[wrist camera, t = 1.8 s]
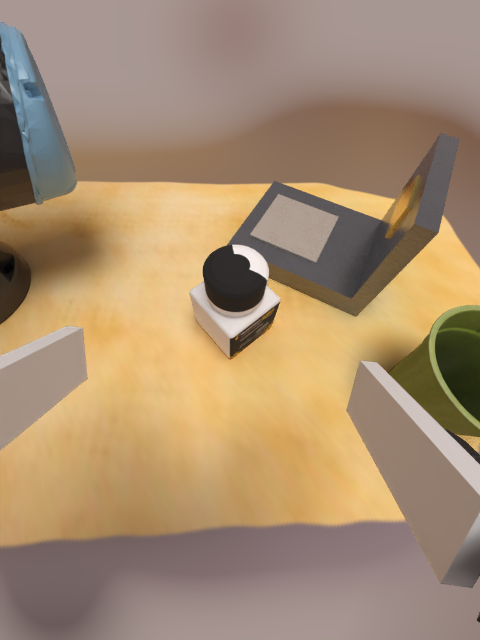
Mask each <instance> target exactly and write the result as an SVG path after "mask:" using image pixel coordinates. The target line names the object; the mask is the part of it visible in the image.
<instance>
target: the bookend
mask: <svg viewBox="0 0 480 640" xmlns="http://www.w3.org/2000/svg"><path fill="white" fill-rule="evenodd" d="M458 143H459V139H458V138H455V137H452V136H448V135H445V134H441V133H440V135H439V136H438V138H437V140H436V141H435V142H434V144H433V145H432V147H431V148H430V150H429V151H428V153H427V154H426V156H425V157H424V158H423V160H422V161H421V163H420V164H419V166H418V167H417V169H416V170H415V172H414V173H413V175H412V176H411V178H410V179H409V181H408V182H407V184H406V185H405V187H404V188H403V190H402V191H401V193H400V194H399V195H398V197H397V198H396V200H395V201H394V203H393V204H392V206H391V207H390V209H389V210H388V212H387V213H386V215H385V216H384V218H383V219H382V221H381V220H379V219H376V218H373V217H371V216H368V215H365V214H362V213H360V212H357V211H354V210H352V209H349V208H346V207H344V206H341V205H338V204H335V203H333V202H330V201H327V200H325V199H322V198H319V197H316V196H314V195H311V194H308V193H306V192H303V191H300V190H298V189H295V188H292V187H289V186H287V185H284V184H281V183H279V182H276V181H274V182H273V184H272V185H271V186H270V188H269V189H268V191H267V192H266V193H265V195H264V196H263V197H262V199H261V200H260V201H259V203H258V204H257V205H256V207H255V208H254V209H253V211H252V212H251V213H250V215H249V216H248V217H247V219H246V220H245V221H244V223H243V224H242V225H241V227H240V228H239V230H238V231H237V232H236V234H235V235H234V236H233V238H232V239H231V240H230V242H229V243H228V244H227V245H243V246H247V247H250V248H252V249H254V250H255V251H257V252H258V253H259V254H261V255H262V256H263V258H264V259H265V261H266V262H267V265H268V268H269V278H271V279H273V280H276V281H278V282H280V283H282V284H285V285H287V286H289V287H291V288H294V289H296V290H298V291H300V292H303V293H305V294H307V295H309V296H311V297H314V298H316V299H318V300H320V301H323V302H325V303H327V304H329V305H332V306H334V307H336V308H338V309H340V310H343V311H345V312H347V313H349V314H352V315H354V316H357V315H358V314H359V313H360V312H361V311H362V310H363V309H364V308H365V307H366V306H367V305H368V304H369V303H370V302H371V301H372V300H373V299H374V298H375V297H376V296H377V295H378V294H379V293H380V292H381V291H382V290H383V289H384V288H385V287H386V286H387V285H388V284H389V283H390V282H391V281H392V280H393V279H394V278H395V276H396V275H397V274H398V273H399V272H400V271H401V270H402V269H403V268H404V267H405V266H406V265H407V264H408V263H409V262H410V261H411V260H412V259H413V258H414V257H415V256H416V255H417V254H418V253H419V252H420V251H421V250H422V249H423V248H424V247H425V246H426V245H427V244H428V243H429V242H430V241H431V240H432V239H433V238H434V237H435V236H436V235H437V234H438V232H439V228H440V224H441V219H442V215H443V210H444V206H445V201H446V196H447V192H448V188H449V183H450V179H451V174H452V170H453V165H454V161H455V156H456V152H457V147H458Z"/></svg>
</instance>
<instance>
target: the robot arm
mask: <svg viewBox="0 0 480 640" xmlns="http://www.w3.org/2000/svg"><path fill="white" fill-rule="evenodd" d="M76 184H77V174H76V170H75V166H74V163H73V160H72V157H71V154H70V151H69V148H68V146H67V142H66V140H65V137H64V134H63V131H62V129H61V126H60V124H59V121H58V118H57V115H56V113H55V110H54V108H53V105H52V102H51V100H50V97H49V95H48V92H47V90H46V87H45V84H44V82H43V79H42V77H41V74H40V72H39V70H38V67H37V65H36V62H35V60H34V58H33V55H32V54H31V52H30V50H29V48H28V45H27V42H26V40H25V38H24V36H23V34H22V33H21V32H20V31H19V30H18V29H17V28H15V27H12V26H8V25H6V24H5V23H3V22H1V23H0V211H3V210H7V209H11V208H15V207H20V206H24V205H28V204H32V203H36V204H37V205H40V204H42V203H43V201H45V200H49V199H52V198H56V197H59V196H63V195H66V194H69V193H70V192H72V191H73V190H74V189H75V187H76ZM29 284H30V270H29V267H28V265H27V263H26V261H25V260H24V259H23V258H22V257H21V256H20V255H19V254H18V253H16V252H15V251H14V250H13V249H12V248H11V247H9V246H8V245H7V244H5V243H3V242H1V241H0V323H1V322H2V321H4V320H5V319H6V318H7V317H8V316H9V315H10V314H12V313H13V311H14V310H15V309H16V308H17V307H18V306H19V304H20V303H21V302H22V300H23V299H24V297H25V295H26V293H27V291H28V288H29ZM86 379H87V368H86V357H85V346H84V336H83V328H81V327H72V326H66V327H63V328H61V329H59V330H57V331H55V332H52V333H50V334H48V335H46V336H44V337H41V338H39V339H37V340H35V341H33V342H30V343H28V344H26V345H24V346H21V347H19V348H17V349H15V350H13V351H10V352H8V353H6V354H4V355H2V356H0V450H2V449H3V448H4V447H5V446H6V445H8V444H9V443H10V442H11V441H12V440H14V439H15V438H16V437H17V436H18V435H20V434H21V433H22V432H23V431H25V430H26V429H27V428H28V427H29V426H31V425H32V424H33V423H34V422H35V421H37V420H38V419H39V418H40V417H42V416H43V415H44V414H45V413H46V412H48V411H49V410H50V409H51V408H52V407H54V406H55V405H56V404H57V403H59V402H60V401H61V400H62V399H63V398H65V397H66V396H67V395H68V394H69V393H71V392H72V391H73V390H74V389H76V388H77V387H78V386H79V385H80V384H82V383H83V382H84V381H85V380H86ZM347 412H348V414H349V416H350V418H351V420H352V421H353V423H354V425H355V427H356V429H357V431H358V433H359V434H360V436H361V438H362V440H363V442H364V444H365V445H366V447H367V449H368V451H369V453H370V455H371V456H372V458H373V460H374V462H375V464H376V466H377V467H378V469H379V471H380V473H381V475H382V477H383V479H384V480H385V482H386V484H387V486H388V488H389V490H390V491H391V493H392V495H393V497H394V499H395V501H396V502H397V504H398V506H399V508H400V510H401V512H402V514H403V515H404V517H405V519H406V521H407V523H408V524H409V526H410V528H411V530H412V532H413V534H414V536H415V537H416V539H417V541H418V543H419V545H420V546H421V548H422V550H423V552H424V554H425V556H426V558H427V560H428V561H429V563H430V565H431V567H432V569H433V571H434V572H435V574H436V576H437V578H438V580H439V582H440V583H441V584H447V585H454V586H462V587H469V588H473V586H474V584H475V583H476V581H477V579H478V578H479V576H480V455H479V454H478V453H477V452H476V451H475V450H474V449H473V448H472V447H471V446H470V445H469V444H468V443H467V442H466V441H464V440H463V439H461V438H460V437H458V436H457V435H455V434H454V433H452V432H451V431H449V430H448V429H443V428H442V427H441V426H440V425H439V424H438V423H437V422H436V421H435V420H434V419H433V418H432V417H431V416H430V415H429V414H428V413H427V412H426V411H425V410H424V409H423V408H422V407H421V406H420V405H419V404H418V403H417V402H416V401H415V400H414V399H413V398H412V397H411V396H410V395H409V394H408V393H407V392H406V391H405V390H404V389H403V388H402V387H401V386H400V385H399V384H398V383H397V382H396V381H395V380H394V379H393V378H392V377H391V376H390V375H389V374H388V373H387V372H386V371H385V370H384V369H383V368H382V367H381V366H380V365H379V364H378V363H377V362H369V361H361V360H360V363H359V367H358V370H357V374H356V377H355V381H354V385H353V388H352V392H351V396H350V399H349V403H348V406H347ZM477 621H478V622H480V613H479V615H478V618H477Z"/></svg>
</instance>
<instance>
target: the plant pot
mask: <svg viewBox="0 0 480 640" xmlns="http://www.w3.org/2000/svg"><path fill="white" fill-rule="evenodd" d="M388 374H389V375H390V376H391V377H392V378H393V379H394V380H395V381H396V382H397V383H398V384H399V385H400V386H401V387H402V388H403V389H404V390H405V391H406V392H407V393H408V394H409V395H410V396H411V397H412V398H413V399H414V400H415V401H416V402H417V403H418V404H419V405H420V406H421V407H422V408H423V409H424V410H425V411H426V412H427V413H428V414H429V415H430V416H431V417H432V418H433V419H434V420H435V421H436V422H437V423H438V424H439V425H440V426H441V427H442V428H443V429H448V430H449V431H451V432H452V433H454V434H460V435H467V436H475V437H480V306H478V305H467V306H460V307H456V308H453V309H450V310H448V311H447V312H445V313H444V314H442V315H441V316H440V317H439V318H438V319H437V320H436V321H435V323H434V324H433V326H432V328H431V331H430V334H429V335H428V336H427V337H426V338H425V339H424V341H423V342H422V344H421V345H419V346H418V347H417V348H416V349H415V350H414V351H413V352H411V353H410V354H409V355H408V356H407V357H406V358H405V359H403V360H402V361H401V362H400V363H399V364H397V365H396V366H395V367H394V368H393V369H392V370H391V371H390V372H389V373H388Z"/></svg>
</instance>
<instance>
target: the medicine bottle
mask: <svg viewBox="0 0 480 640" xmlns="http://www.w3.org/2000/svg"><path fill="white" fill-rule="evenodd" d="M203 277H204V282H202V283H201V284H199V285H198V286H196V287H194V288H193V289H191V290H190V293H189V294H190V298H191V301H192V305H193V309H194V313H195V317H196V320H197V322H198V323H199V324H200V325H201V327H202V328H203V329H204V330H205V331H206V332H207V334H208V335H209V336H210V337H211V338H212V339H213V340H214V342H215V343H216V344H217V345H218V346H219V347H220V349H221V350H222V351H223V352H224V353H225V354H226V356H227V357H228V358H230V359H232V358H233V357H235V356H236V355H237V354H238V353H240V352H241V351H242V350H243V349H245V348H246V347H247V346H248V345H249V344H251V343H252V342H253V341H254V340H256V339H257V338H258V337H259V336H261V335H262V334H263V333H264V332H266V331H267V330H268V329H269V328H271V326H272V323H273V320H274V318H275V315H276V312H277V309H278V306H279V303H280V297H279V296H277V295H276V294H275V293H274V292H273V291H272V290H271V289H270V288H269V287H268V286H267V281H268V277H269V268H268V265H267V262H266V261H265V259H264V258H263V256H262V255H261V254H259V253H258V252H257V251H255V250H254V249H252V248H250V247H247V246H243V245H227V246H224V247H221V248H219V249H217V250H215V251H214V252H212V253H211V254H210V255H209V256H208V258H207V259H206V261H205V263H204V266H203Z"/></svg>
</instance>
